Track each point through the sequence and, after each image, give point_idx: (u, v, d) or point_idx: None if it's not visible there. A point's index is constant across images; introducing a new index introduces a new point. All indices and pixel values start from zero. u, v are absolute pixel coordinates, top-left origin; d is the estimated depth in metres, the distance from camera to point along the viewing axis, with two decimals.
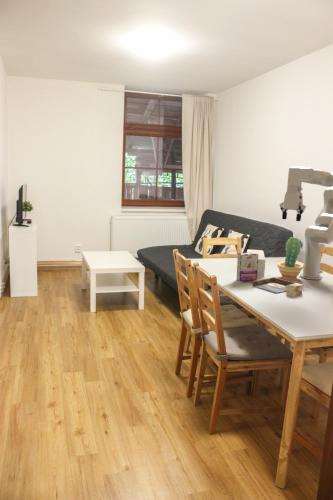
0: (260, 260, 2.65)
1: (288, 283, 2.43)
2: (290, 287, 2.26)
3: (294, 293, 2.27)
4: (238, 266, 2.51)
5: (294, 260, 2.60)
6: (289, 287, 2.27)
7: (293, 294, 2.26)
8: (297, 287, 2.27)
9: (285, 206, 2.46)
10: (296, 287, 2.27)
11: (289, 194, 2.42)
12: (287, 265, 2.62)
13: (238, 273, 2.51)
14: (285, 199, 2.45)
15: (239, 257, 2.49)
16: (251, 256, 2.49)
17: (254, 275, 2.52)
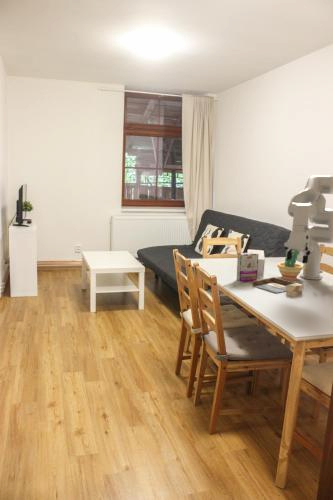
0: (259, 260, 2.65)
1: (288, 283, 2.43)
2: (290, 287, 2.26)
3: (294, 293, 2.27)
4: (238, 266, 2.51)
5: (294, 260, 2.60)
6: (289, 287, 2.27)
7: (293, 294, 2.26)
8: (297, 287, 2.27)
9: (290, 246, 2.26)
10: (296, 287, 2.27)
11: (295, 233, 2.23)
12: (287, 265, 2.62)
13: (238, 273, 2.51)
14: (290, 239, 2.26)
15: (239, 257, 2.49)
16: (251, 256, 2.49)
17: (254, 275, 2.52)
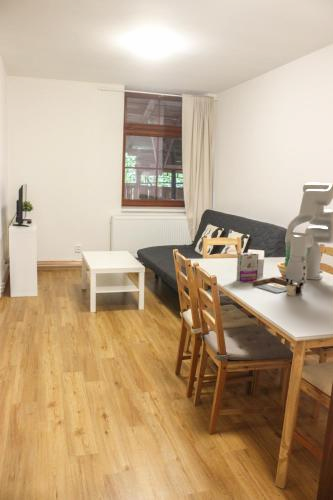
0: (259, 260, 2.65)
1: None
2: (290, 286, 2.26)
3: (295, 293, 2.27)
4: (238, 266, 2.51)
5: None
6: (289, 286, 2.27)
7: (293, 294, 2.26)
8: None
9: (288, 276, 2.29)
10: None
11: (292, 263, 2.26)
12: None
13: (238, 273, 2.51)
14: (288, 268, 2.29)
15: (239, 257, 2.49)
16: (251, 256, 2.49)
17: (254, 275, 2.52)
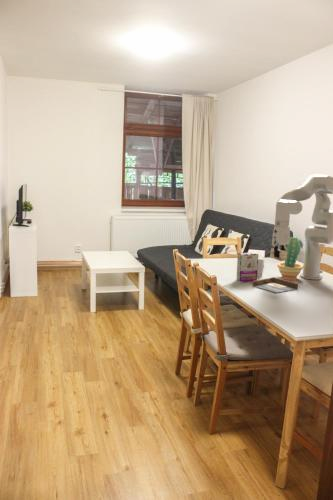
0: (258, 260, 2.65)
1: (288, 283, 2.43)
2: None
3: (273, 256, 2.41)
4: (238, 266, 2.51)
5: (294, 260, 2.60)
6: None
7: (271, 256, 2.42)
8: None
9: None
10: None
11: None
12: (287, 265, 2.62)
13: (238, 273, 2.51)
14: None
15: (239, 257, 2.49)
16: (251, 256, 2.49)
17: (254, 275, 2.52)
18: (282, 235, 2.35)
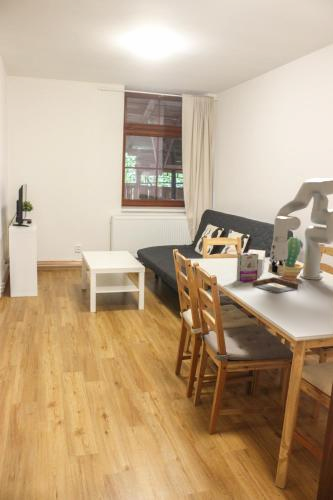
0: None
1: (288, 283, 2.43)
2: None
3: (271, 271, 2.43)
4: (238, 266, 2.51)
5: (294, 260, 2.60)
6: None
7: (269, 271, 2.44)
8: None
9: None
10: None
11: None
12: (287, 265, 2.62)
13: (238, 273, 2.51)
14: None
15: (239, 257, 2.49)
16: (251, 256, 2.49)
17: (254, 275, 2.52)
18: (280, 250, 2.36)
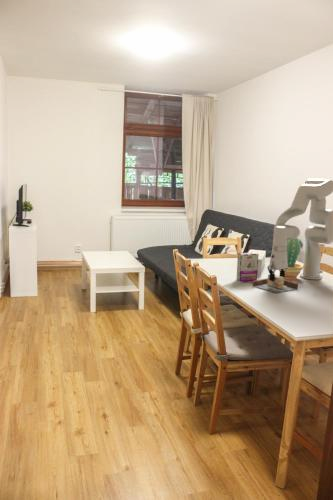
0: None
1: (288, 283, 2.43)
2: None
3: (270, 282, 2.44)
4: (238, 266, 2.51)
5: (294, 260, 2.60)
6: None
7: (268, 282, 2.45)
8: None
9: None
10: None
11: None
12: None
13: (238, 273, 2.51)
14: None
15: (239, 257, 2.49)
16: (251, 256, 2.49)
17: (254, 275, 2.52)
18: (279, 260, 2.37)
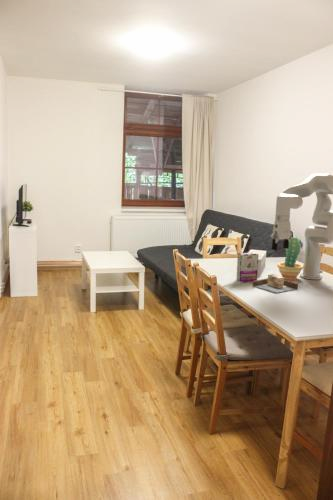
0: None
1: (288, 283, 2.43)
2: None
3: (270, 282, 2.44)
4: (238, 266, 2.51)
5: (294, 260, 2.60)
6: None
7: (268, 282, 2.45)
8: (273, 277, 2.43)
9: None
10: (271, 277, 2.43)
11: None
12: (287, 265, 2.62)
13: (238, 273, 2.51)
14: None
15: (239, 257, 2.49)
16: (251, 256, 2.49)
17: (254, 275, 2.52)
18: (283, 229, 2.35)
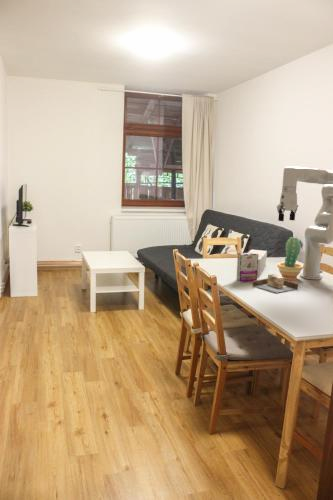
0: None
1: (288, 283, 2.43)
2: None
3: (270, 282, 2.44)
4: (238, 266, 2.51)
5: (294, 260, 2.60)
6: None
7: (268, 282, 2.45)
8: (273, 277, 2.43)
9: None
10: (271, 277, 2.43)
11: None
12: (287, 265, 2.62)
13: (238, 273, 2.51)
14: None
15: (239, 257, 2.49)
16: (251, 256, 2.49)
17: (254, 275, 2.52)
18: (289, 200, 2.39)
